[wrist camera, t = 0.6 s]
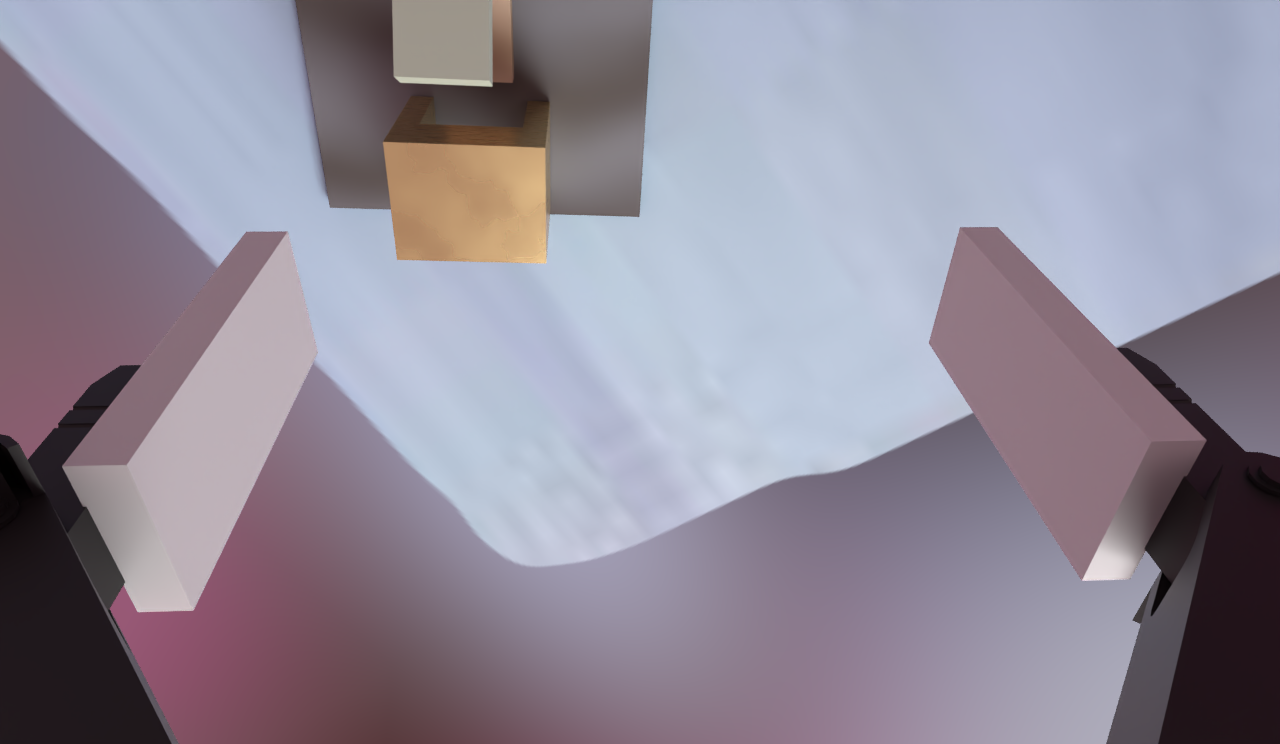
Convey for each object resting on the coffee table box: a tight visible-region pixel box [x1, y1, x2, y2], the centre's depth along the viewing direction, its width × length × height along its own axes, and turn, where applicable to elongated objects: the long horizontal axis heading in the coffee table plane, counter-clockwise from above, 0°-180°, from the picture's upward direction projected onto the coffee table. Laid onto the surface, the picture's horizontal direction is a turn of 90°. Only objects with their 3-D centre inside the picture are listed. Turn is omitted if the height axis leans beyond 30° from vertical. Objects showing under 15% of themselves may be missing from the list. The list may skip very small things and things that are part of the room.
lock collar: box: [383, 96, 550, 263], centre depth 35 cm, size 5×6×6 cm
